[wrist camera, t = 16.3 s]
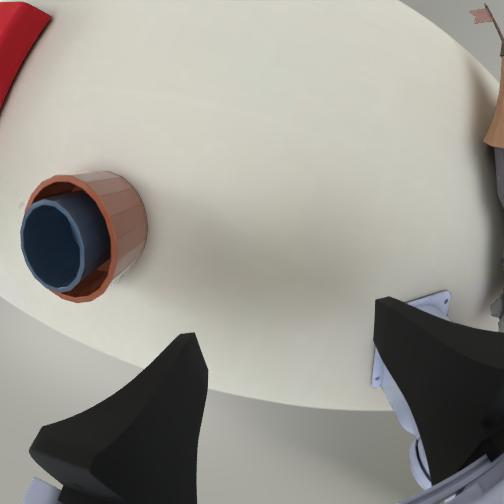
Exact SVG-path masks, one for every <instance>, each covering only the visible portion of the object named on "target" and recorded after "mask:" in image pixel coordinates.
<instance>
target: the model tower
mask: <svg viewBox="0 0 504 504" xmlns="http://www.w3.org/2000/svg"><path fill="white" fill-rule="evenodd" d="M485 8H486V9H480V10H473V11H469V12H470V13H471V14H473V15H475V16H476V17H475V22H474V23H475V24H476V23H483V22H491V21H493V22H494V25H495V26H496V29H497V31H498V33H499V36H500V38H501V40H502V47H501V54H500V56H501V57H502V68H501V80H500V90H499V96H498V100H497V105H496V109H495V112H494V116H493V120H492V122H491V125H490V127H489V129H488V131H487V133H486V136H485V138H484V140H483V142H485V143H487V144H488V145H490V146H494V153H495V164H496V179H497V195H498V197H499V199H500V201H501V204H502V206H503V211H504V38H503V36H502V34H501V32H500V29H499V28H498V25H497V23H496V21H495V20H494V18H493V16H492V14H491V12H490V11H489V8H488V6H487V5H486V4H485ZM502 265H503V267H504V257H503V258H502ZM491 316H494V317H498V318H499V319H500V321H499V322H498V325H499V332H502V333H504V290H503V294H501V295H500V297H499V299H496V300H495V301H494V303H493V304H492V305H491Z"/></svg>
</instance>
